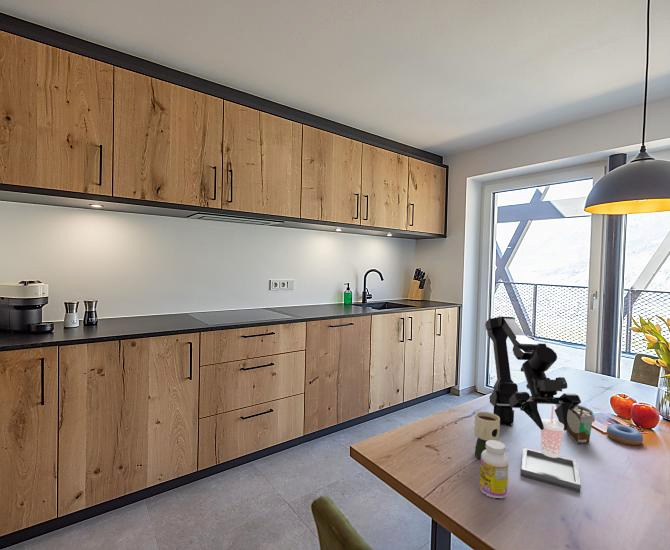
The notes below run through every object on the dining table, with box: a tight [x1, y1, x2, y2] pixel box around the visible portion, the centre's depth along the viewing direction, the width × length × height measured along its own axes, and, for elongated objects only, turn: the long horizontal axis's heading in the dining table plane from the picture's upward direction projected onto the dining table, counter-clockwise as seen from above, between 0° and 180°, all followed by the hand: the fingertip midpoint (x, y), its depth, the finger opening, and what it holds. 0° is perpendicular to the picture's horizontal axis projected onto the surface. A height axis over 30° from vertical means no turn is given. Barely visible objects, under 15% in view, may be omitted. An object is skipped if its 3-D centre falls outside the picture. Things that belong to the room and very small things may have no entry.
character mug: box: [473, 411, 501, 459], centre depth 114 cm, size 11×7×13 cm, turn 141°
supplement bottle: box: [479, 440, 510, 499], centre depth 97 cm, size 7×7×13 cm
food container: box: [565, 404, 596, 445], centre depth 128 cm, size 12×6×10 cm, turn 168°
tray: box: [520, 447, 582, 493], centre depth 108 cm, size 14×14×2 cm
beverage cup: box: [540, 405, 564, 458], centre depth 107 cm, size 6×6×14 cm
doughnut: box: [606, 423, 644, 446], centre depth 129 cm, size 10×10×5 cm
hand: (554, 429), depth 106 cm, fingers closed on beverage cup, 6 cm apart
